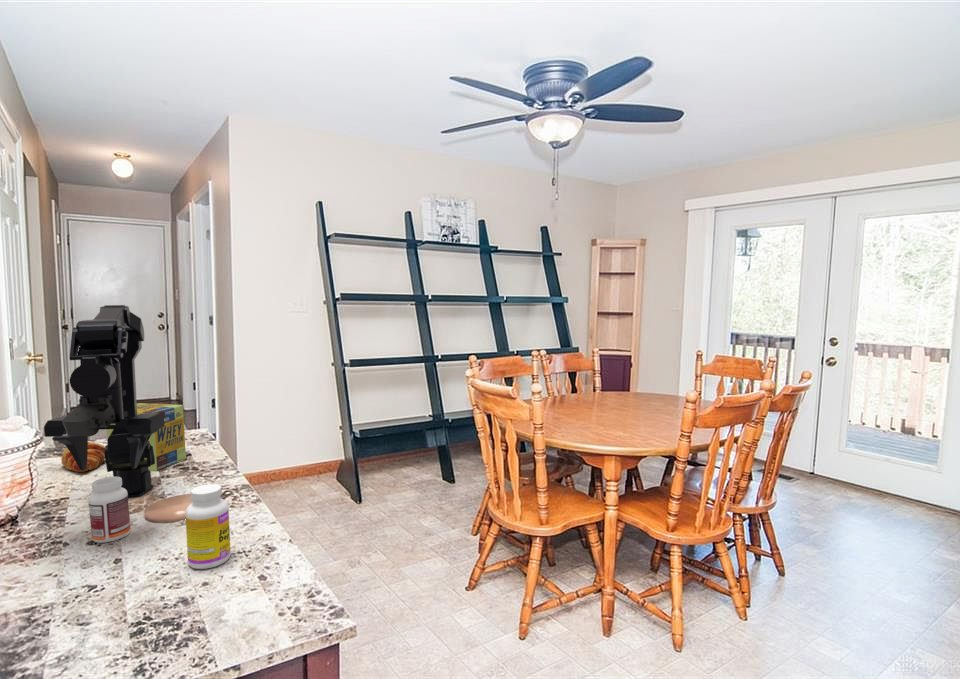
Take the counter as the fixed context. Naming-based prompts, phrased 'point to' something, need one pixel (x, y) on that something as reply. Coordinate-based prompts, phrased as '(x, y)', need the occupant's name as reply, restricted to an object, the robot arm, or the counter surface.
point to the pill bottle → (109, 510)
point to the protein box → (165, 434)
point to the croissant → (94, 458)
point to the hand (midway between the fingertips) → (109, 469)
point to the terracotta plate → (168, 509)
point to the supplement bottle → (207, 528)
